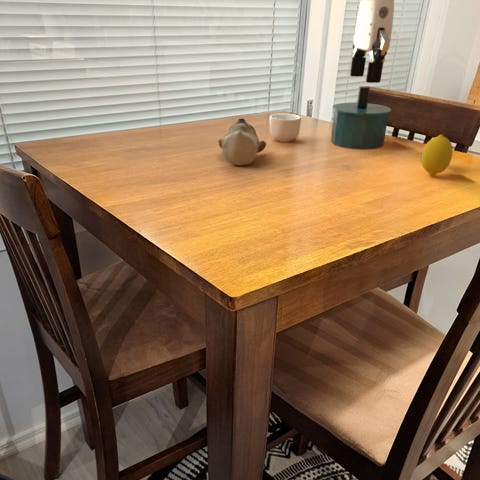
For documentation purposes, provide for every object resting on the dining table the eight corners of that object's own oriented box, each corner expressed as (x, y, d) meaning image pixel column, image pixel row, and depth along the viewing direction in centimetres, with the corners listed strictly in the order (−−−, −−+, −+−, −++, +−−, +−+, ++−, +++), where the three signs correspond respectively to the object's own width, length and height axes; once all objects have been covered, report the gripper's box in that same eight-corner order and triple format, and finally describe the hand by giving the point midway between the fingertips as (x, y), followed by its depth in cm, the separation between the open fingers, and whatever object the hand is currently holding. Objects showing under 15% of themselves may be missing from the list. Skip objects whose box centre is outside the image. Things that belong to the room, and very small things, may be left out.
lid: (376, 106, 125) (380, 82, 122) (400, 117, 113) (405, 91, 110) (324, 107, 122) (327, 83, 119) (343, 119, 111) (347, 92, 108)
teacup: (300, 143, 120) (302, 120, 117) (268, 143, 120) (269, 119, 117) (297, 134, 128) (299, 112, 125) (267, 133, 128) (268, 111, 125)
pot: (370, 135, 128) (375, 104, 124) (391, 148, 118) (397, 114, 113) (324, 137, 126) (327, 105, 122) (341, 150, 116) (345, 115, 111)
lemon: (435, 171, 102) (444, 130, 98) (452, 179, 98) (463, 137, 94) (412, 173, 101) (420, 132, 97) (429, 181, 97) (438, 139, 92)
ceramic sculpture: (212, 122, 97) (220, 112, 110) (212, 167, 101) (219, 152, 114) (266, 124, 97) (268, 114, 110) (264, 169, 101) (265, 154, 114)
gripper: (413, -10, 98) (396, 85, 108) (377, -10, 112) (365, 74, 122) (377, -11, 97) (363, 85, 106) (346, -11, 111) (336, 74, 121)
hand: (364, 79), depth 114 cm, fingers open, 9 cm apart
